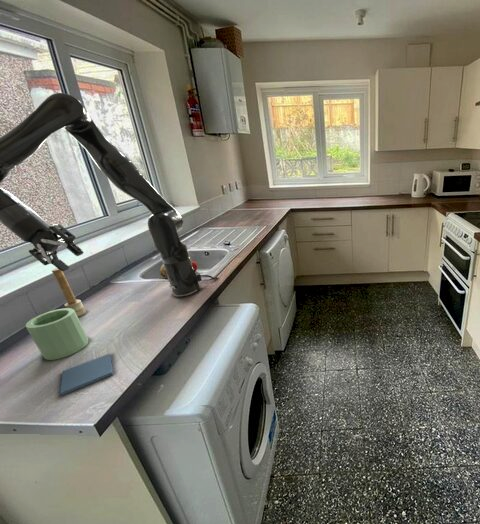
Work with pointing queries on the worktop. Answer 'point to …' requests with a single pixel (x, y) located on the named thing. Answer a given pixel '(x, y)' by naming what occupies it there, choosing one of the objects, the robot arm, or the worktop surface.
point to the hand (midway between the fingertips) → (73, 262)
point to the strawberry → (194, 265)
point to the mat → (86, 374)
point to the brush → (68, 293)
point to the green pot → (57, 333)
